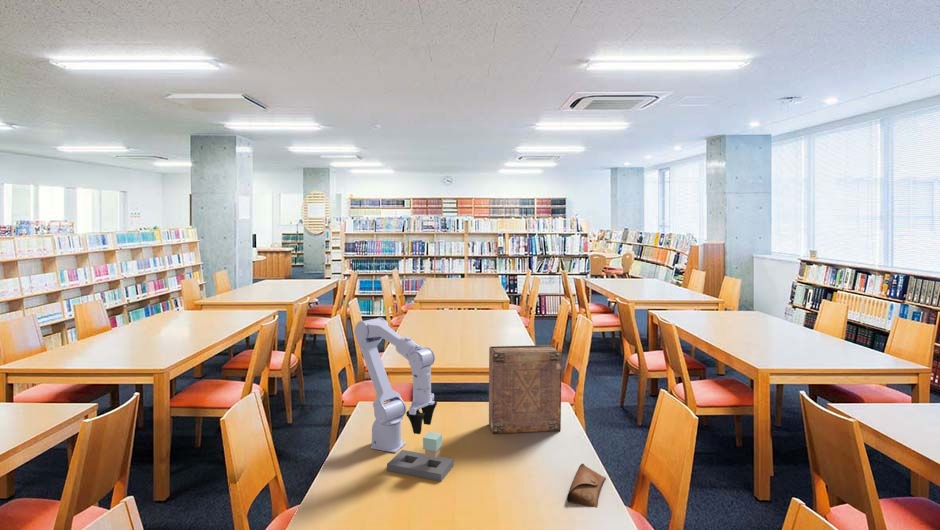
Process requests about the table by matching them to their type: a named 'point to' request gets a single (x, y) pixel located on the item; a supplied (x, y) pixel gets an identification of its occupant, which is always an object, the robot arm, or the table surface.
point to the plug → (432, 444)
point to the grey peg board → (420, 465)
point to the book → (524, 389)
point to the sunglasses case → (586, 487)
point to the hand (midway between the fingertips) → (422, 428)
